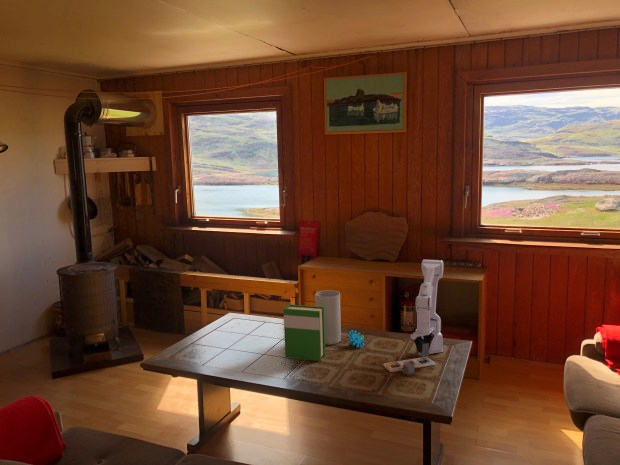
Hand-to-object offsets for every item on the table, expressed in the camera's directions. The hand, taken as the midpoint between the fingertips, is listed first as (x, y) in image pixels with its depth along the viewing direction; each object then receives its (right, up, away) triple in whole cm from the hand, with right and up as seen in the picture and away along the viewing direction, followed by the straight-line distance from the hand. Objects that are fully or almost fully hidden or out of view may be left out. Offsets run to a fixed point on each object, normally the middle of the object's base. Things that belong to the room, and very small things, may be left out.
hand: (423, 350), depth 232 cm
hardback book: (-54, -6, +13) cm, 55 cm away
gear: (-28, -3, +24) cm, 37 cm away
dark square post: (0, -2, 0) cm, 2 cm away
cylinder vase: (-42, -2, +32) cm, 53 cm away
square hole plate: (-7, -6, -1) cm, 9 cm away
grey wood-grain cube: (-8, -8, -9) cm, 14 cm away
